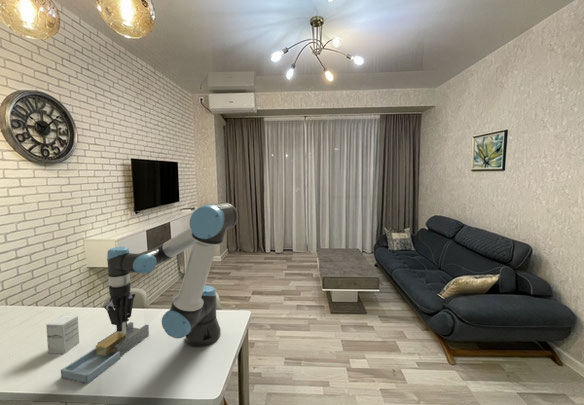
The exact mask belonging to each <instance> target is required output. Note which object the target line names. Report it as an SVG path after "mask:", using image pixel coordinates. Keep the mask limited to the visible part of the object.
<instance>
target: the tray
mask: <svg viewBox="0 0 584 405" xmlns="http://www.w3.org/2000/svg"><path fill="white" fill-rule="evenodd" d="M119 360H121V357H120V352H117V353H116V354H114V355H113V356H110V355H107V356H103V355H99V354H96V347H94V348H92V349H91V350H89V351H88V352H87V353H85V354H83V355H82V356H80V357H78V358H77V359H76V360H74V361H73V362H71V363H69V364H68V365H66V366H65V367H63V368H62V369H60V377H61V379H64V378H65V380H68V379H70V380H69V381H72V380H74V381H73V382H77V381H78V383H82V384H86V385H88V384H90V383H91V382H93V380H95V379H96V378H98V377H99V376H100V375H102V373H104V372H105V371H107V370H108V369H109V368H111V367H112V366H113V365H114V364H116V363H117V362H118V361H119ZM98 375H99V376H98Z"/></svg>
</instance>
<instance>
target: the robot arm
mask: <svg viewBox="0 0 584 405" xmlns="http://www.w3.org/2000/svg"><path fill="white" fill-rule="evenodd" d="M238 219H239V213H238V210H237V209H236V207H235V206H234V205H232V204H231V203H229V202H217V203H213V204H212V203H209V204H204V205H202V206H200V207H197V208H196V209H194V211H193V212H192V214H191V215H190V217H189V228H187V229H186V230H184V231H182V232H181V233H178V234H177V235H176V236H173V237H172V238H170V239H169V240H167V241H165V242H164V243H162V244H160V245H159V246H157V247H154V248H151V249H148V250H146V251H142V252H139V253H132V252H130V249H129V247H127V246H117V247H112V248H110V249H108V250H107V253H106V254H107V255H106V258H107V259H106V261H107V262H106V263H107V272H108V273H107V274H108V277H107V278H108V293H109V296H110V299H109V303H108V304H107V305H104V309H105V310H106V312H107V314H108V318H109V320H110V324H111V325H112V326H116V331H118V333H122V334H126V328H127V324H128V322H129V320H130V319H129V318H131V317H132V311H133V305H134V301H135V300H134V299H135V297H136V294H135V293H131V292H130V291H131V273H137V274H150V273H152V272H153V270H155V269H156V267H157V266H158V265H160V264H163V263H165V262H168V261H170V260H171V259H172V258H174V257H176V256H177V255H180V253H182V252H184V251H186V250H188V249H190V248H191V247H192V248H191V251H190V255H189V258H188V261H187V265H186V268H185V272H184V276H183V279H182V283H181V285H180V289H179V292H178V294H176V295H175V296H174V297H173V299H172V302H171V305H170V308H169V310H168V311H166V312H165V313H164V314H163V315H162V317H161V327H162V328H163V330H164V332H165V333H166V334H167V335H168V336H169V337H171V338H173V339H183V338H185V342H186V344H187V345H188V346H190V347H196V348H197V347H198V348H199V347H200V348H201V347H206V346H209V345H212V344H214V343H215V342H217V340H219V338H220V337H221V335H222V334H221V332H222V330H221V326H220V324H219V321H218V319H217V294H216V292H217V291H216V288H215V287H213V286H212V285H206V284H207V280H208V277H209V275H210V270H211V267H212V264H213V259H214V257H215V254H216V251H217V248H218V246H220V245H221V244H222V243H223V242H224V238H225V234H226V232H227V231H230V230H231V229H233V227H235V225H236V224H237V223H238Z"/></svg>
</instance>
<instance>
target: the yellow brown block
mask: <svg viewBox="0 0 584 405" xmlns="http://www.w3.org/2000/svg"><path fill="white" fill-rule="evenodd" d="M104 339H105V338H104ZM101 341H102V340H101ZM115 345H116V341H115V340H110V339H105V340H104V341H102V342H101V343H99V344H98V343H97V344H96V345H95V348H96V354H99V355H103V356H107V355H109V354H110V353H111V352H113V351H114V350H115Z"/></svg>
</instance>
